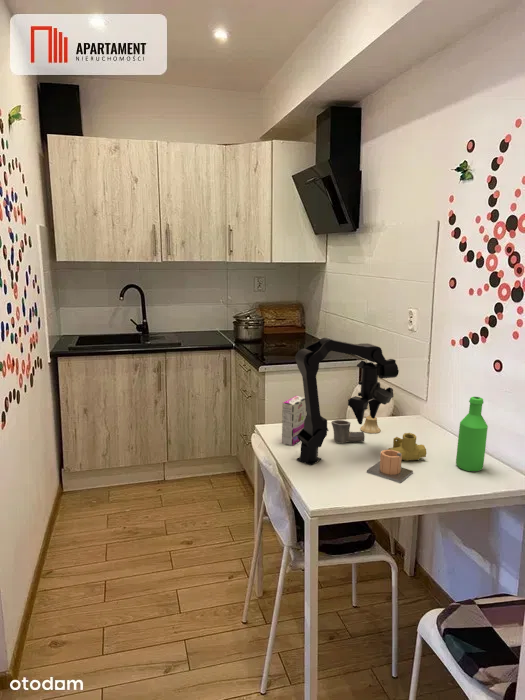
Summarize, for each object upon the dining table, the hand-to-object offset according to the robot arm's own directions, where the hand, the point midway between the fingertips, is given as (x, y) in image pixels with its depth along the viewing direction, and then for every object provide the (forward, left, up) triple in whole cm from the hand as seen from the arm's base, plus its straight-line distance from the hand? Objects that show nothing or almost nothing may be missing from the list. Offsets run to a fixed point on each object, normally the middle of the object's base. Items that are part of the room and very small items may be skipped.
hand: (366, 421), depth 187 cm
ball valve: (+5, -13, -12) cm, 19 cm away
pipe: (+5, +10, -12) cm, 17 cm away
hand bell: (+23, +9, -12) cm, 28 cm away
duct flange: (-10, -15, -12) cm, 22 cm away
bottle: (+12, -34, -12) cm, 38 cm away
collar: (-10, -15, -11) cm, 21 cm away
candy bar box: (-8, +26, -12) cm, 30 cm away
